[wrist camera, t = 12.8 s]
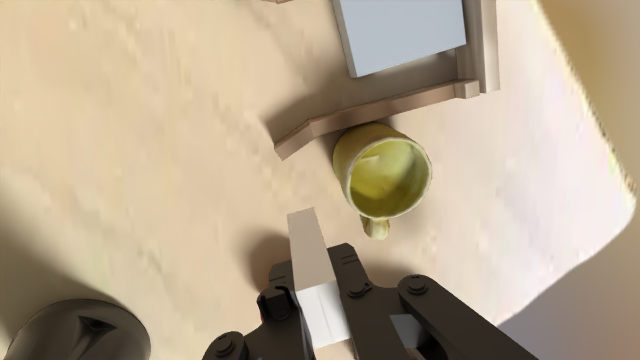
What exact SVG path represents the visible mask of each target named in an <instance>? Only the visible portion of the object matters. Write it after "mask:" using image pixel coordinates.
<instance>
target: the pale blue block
mask: <svg viewBox="0 0 640 360" xmlns="http://www.w3.org/2000/svg"><path fill="white" fill-rule="evenodd" d="M332 3H333V7H334V11H335V15H336V19H337V23H338V28H339V32H340V36H341V40H342V44H343V49H344V53H345V57H346V61H347V65H348V70H349V74H350V78H358V77H361V76H364V75H367V74H371V73H374V72H377V71H380V70H384V69H387V68H390V67H393V66H397V65H400V64H403V63H406V62H410V61H413V60H416V59H419V58H423V57H426V56H429V55H432V54H435V53H439V52H442V51H445V50H448V49H452V48H455V47H458V46H461V45H465V44H466V38H465V29H464V20H463V11H462V2H461V0H332Z"/></svg>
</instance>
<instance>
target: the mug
mask: <svg viewBox="0 0 640 360" xmlns="http://www.w3.org/2000/svg"><path fill="white" fill-rule="evenodd" d="M333 168H334V172H335V175H336V177H337V178H338V179H339V181H340V184H341V188H342V191H343V193H344V196H345V198H346V200H347V201H348V203H349V204H350V205H351V207H352V208H353V209H354V210H355V211H356V212H357V213H359V214H360V217H361V221H362V223H363V228H364V232H365V233H366V234H367V235H368V236H369V237H371V238H372V239H380V240H384V239H385V238H386V236H387V234H388V232H389V227H390V225H389V221H388V219H389V218H394V217H399V216H401V215H403V214H405V213H407V212H409V211H410V210H411V209H413V208H414V207H416V206H417V205H418V204H419V203H420V201H421V200H422V199H423V197H424V196H425V194H426V192H427V191H428V189H429V186H430V183H431V180H432V165H431V162H430V160H429V158H428V156H427V154H426V153H425V150H424V149H423V148H422V147H421V146H420V145H419V144H418V143H416V142H415V141H413V140H412V139H410V138H409V137H407V136H406V135H404V134H402V133H400V132H398V131H396V130H394V129H392V128H390V127H388V126H386V125H384V124H381V123H377V122H366V123H362V124H358V125H355V126H353V127H351V128H350V129H348V130H347V131H346V132H345V133H344V134H343V135H342V136H341V137H340V139H339V140H338V142H337V144H336V146H335V149H334V153H333Z"/></svg>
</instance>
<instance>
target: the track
mask: <svg viewBox="0 0 640 360" xmlns="http://www.w3.org/2000/svg"><path fill="white" fill-rule="evenodd" d="M263 1H270V2H277V4H280V3H284V2H288V1H292V0H263ZM461 2H462V11H463V20H464V29H465V38H466V44H465V45H461V46H458V47H456V57H457V68H458V79H455V80H451V81H448V82H444V83H440V84H437V85H433V86H429V87H426V88H422V89H418V90H414V91H411V92H407V93H403V94H400V95H396V96H392V97H389V98H385V99H381V100H377V101H374V102H370V103H366V104H363V105H359V106H355V107H352V108H348V109H344V110H341V111H337V112H333V113H329V114H326V115H322V116H318V117H315V118H311V119H307V121H306V122H305V123H304V124H302V125H301V126H299V127H298V128H296V129H295V130H294V131H292V132H291V133H289V134H288V135H287V136H285V137H284V138H282V139H281V140H279V141H278V142H277V143H275V144H274V150H275V152H276V153H277V154H278V156H279V157H280V158H281V160H282V161H283V160H285V159H286V158H288V157H289V156H290V155H292V154H293V153H295V152H296V151H298V150H299V149H300V148H302V147H303V146H305V145H306V144H308V143H309V142H310V141H312V140H313V139H315V138H316V137H318V136H319V135H322V134H325V133H329V132H333V131H336V130H340V129H344V128H347V127H351V126H355V125H358V124H362V123H366V122H369V121H373V120H377V119H380V118H384V117H387V116H391V115H395V114H398V113H402V112H406V111H409V110H413V109H417V108H420V107H424V106H428V105H431V104H435V103H439V102H442V101H446V100H449V99H453V98H462V99H468V98H472V97H475V96H479V95H480V93H490V92H493V91H497V90H500V81H499V59H498V38H497V16H496V0H461Z"/></svg>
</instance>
